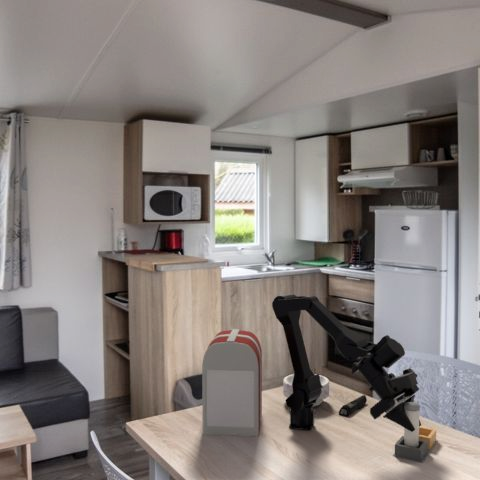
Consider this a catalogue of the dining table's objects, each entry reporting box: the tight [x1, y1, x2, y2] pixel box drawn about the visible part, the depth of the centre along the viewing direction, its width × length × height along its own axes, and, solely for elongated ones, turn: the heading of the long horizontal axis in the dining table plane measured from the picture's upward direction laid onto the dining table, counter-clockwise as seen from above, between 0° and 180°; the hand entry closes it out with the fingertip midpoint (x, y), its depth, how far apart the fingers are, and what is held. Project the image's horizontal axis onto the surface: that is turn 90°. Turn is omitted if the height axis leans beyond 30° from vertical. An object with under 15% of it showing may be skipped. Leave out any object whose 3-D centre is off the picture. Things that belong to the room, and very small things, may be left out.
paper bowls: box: [282, 373, 330, 407], centre depth 186 cm, size 15×15×8 cm
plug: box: [403, 402, 421, 449], centre depth 144 cm, size 4×4×13 cm
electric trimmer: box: [338, 394, 368, 417], centre depth 180 cm, size 4×16×3 cm, turn 142°
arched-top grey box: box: [201, 328, 263, 437], centre depth 167 cm, size 16×18×27 cm
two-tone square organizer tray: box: [392, 426, 439, 464], centre depth 148 cm, size 16×8×4 cm, turn 147°
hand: (416, 428), depth 143 cm, fingers closed on plug, 4 cm apart
